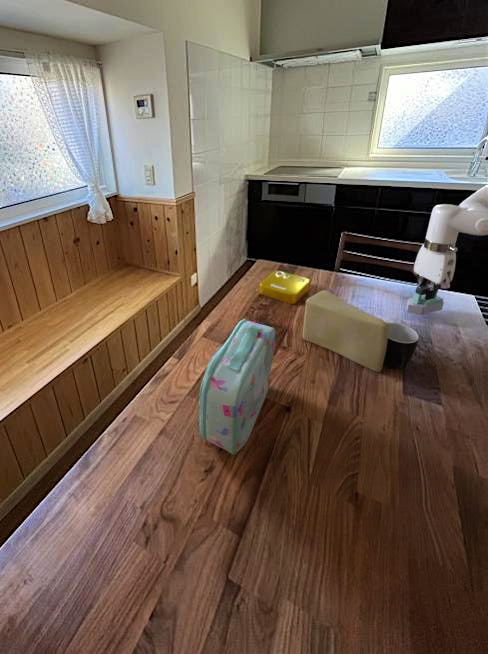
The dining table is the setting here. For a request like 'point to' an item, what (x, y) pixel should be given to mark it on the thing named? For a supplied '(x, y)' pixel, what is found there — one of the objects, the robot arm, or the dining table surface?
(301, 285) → the element tile
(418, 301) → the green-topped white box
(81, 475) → the dining table surface
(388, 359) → the mug
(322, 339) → the cheese
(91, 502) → the dining table surface
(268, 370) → the lunch box
